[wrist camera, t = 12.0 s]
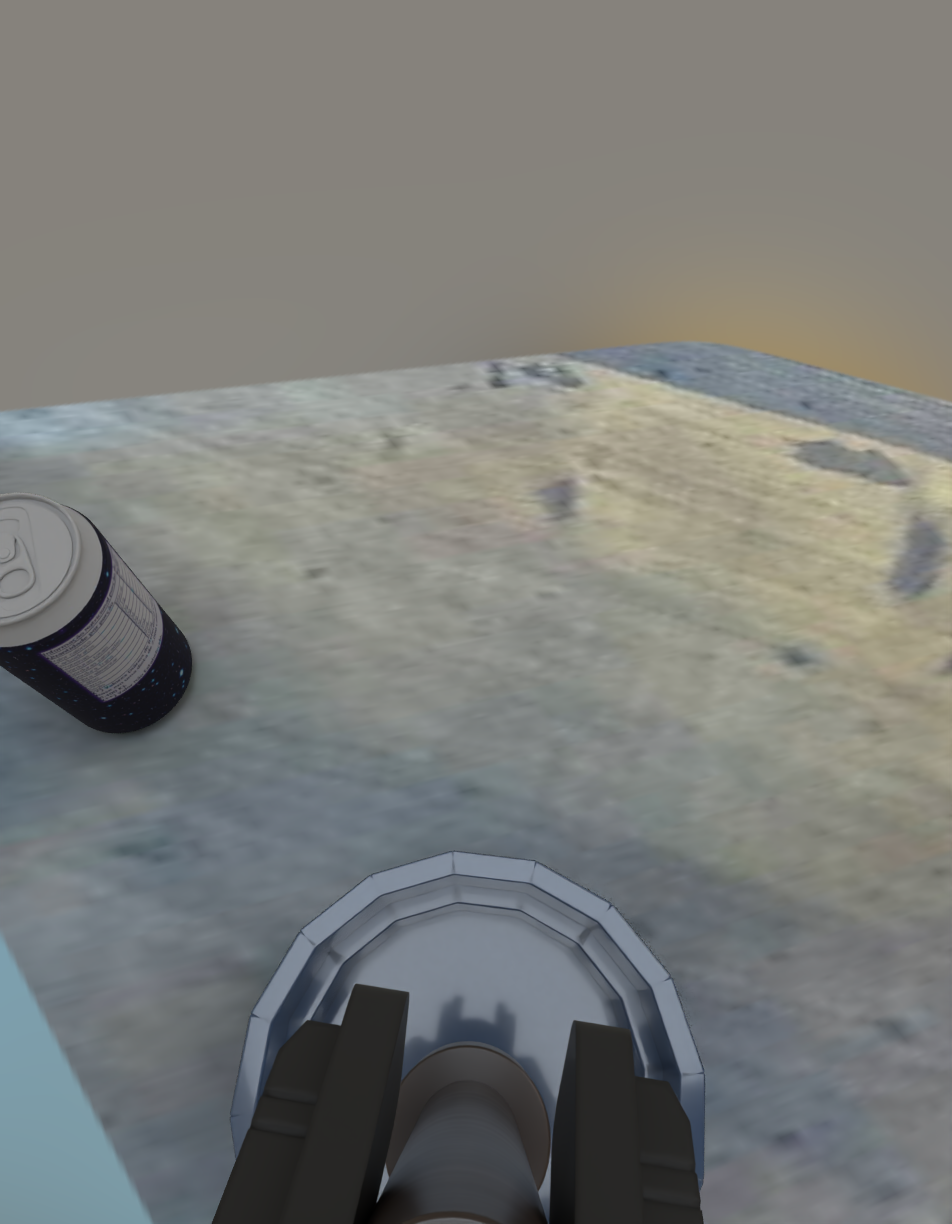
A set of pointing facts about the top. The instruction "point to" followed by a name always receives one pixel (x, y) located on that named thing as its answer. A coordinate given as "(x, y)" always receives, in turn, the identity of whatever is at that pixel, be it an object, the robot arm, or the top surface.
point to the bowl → (480, 978)
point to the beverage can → (83, 620)
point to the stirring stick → (466, 1142)
